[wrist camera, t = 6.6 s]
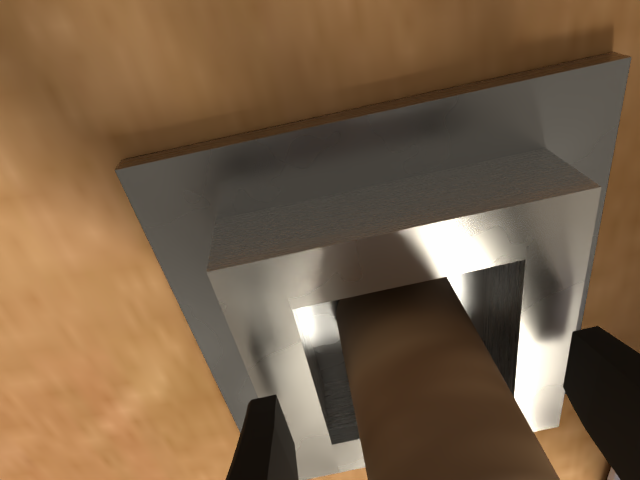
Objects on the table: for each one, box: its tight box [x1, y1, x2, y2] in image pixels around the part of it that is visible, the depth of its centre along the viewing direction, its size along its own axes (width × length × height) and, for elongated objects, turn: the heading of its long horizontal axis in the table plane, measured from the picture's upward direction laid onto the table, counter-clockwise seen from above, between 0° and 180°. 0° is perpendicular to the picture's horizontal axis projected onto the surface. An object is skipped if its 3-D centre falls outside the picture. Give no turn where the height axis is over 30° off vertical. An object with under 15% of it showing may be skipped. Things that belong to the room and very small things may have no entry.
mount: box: [115, 52, 631, 480], centre depth 13 cm, size 12×12×3 cm
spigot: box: [336, 277, 560, 480], centre depth 11 cm, size 4×4×6 cm
